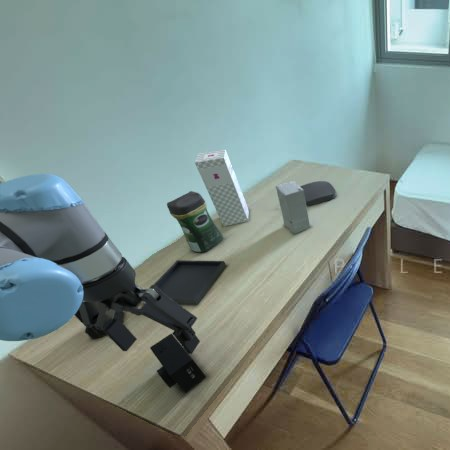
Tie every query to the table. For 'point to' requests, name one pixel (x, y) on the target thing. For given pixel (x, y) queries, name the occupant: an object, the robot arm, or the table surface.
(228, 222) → the box
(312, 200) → the media streaming box
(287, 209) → the cosmetic box
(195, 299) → the shallow black tray
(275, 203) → the table surface
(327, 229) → the table surface
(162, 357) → the digital camera
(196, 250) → the coffee jar
